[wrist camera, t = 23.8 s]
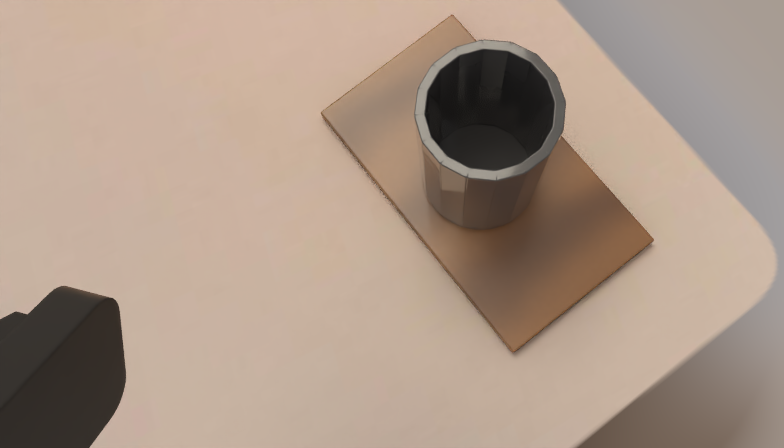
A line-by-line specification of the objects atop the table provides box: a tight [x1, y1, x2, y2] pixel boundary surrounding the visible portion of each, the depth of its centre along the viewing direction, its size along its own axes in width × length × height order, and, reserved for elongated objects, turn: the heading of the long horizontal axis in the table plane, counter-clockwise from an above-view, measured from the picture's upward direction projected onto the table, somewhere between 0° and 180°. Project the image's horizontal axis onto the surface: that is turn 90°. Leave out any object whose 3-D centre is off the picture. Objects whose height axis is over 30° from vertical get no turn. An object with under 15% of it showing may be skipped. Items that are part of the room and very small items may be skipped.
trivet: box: [321, 15, 654, 353], centre depth 38 cm, size 16×9×1 cm, turn 37°
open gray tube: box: [414, 40, 566, 230], centre depth 34 cm, size 6×6×9 cm
